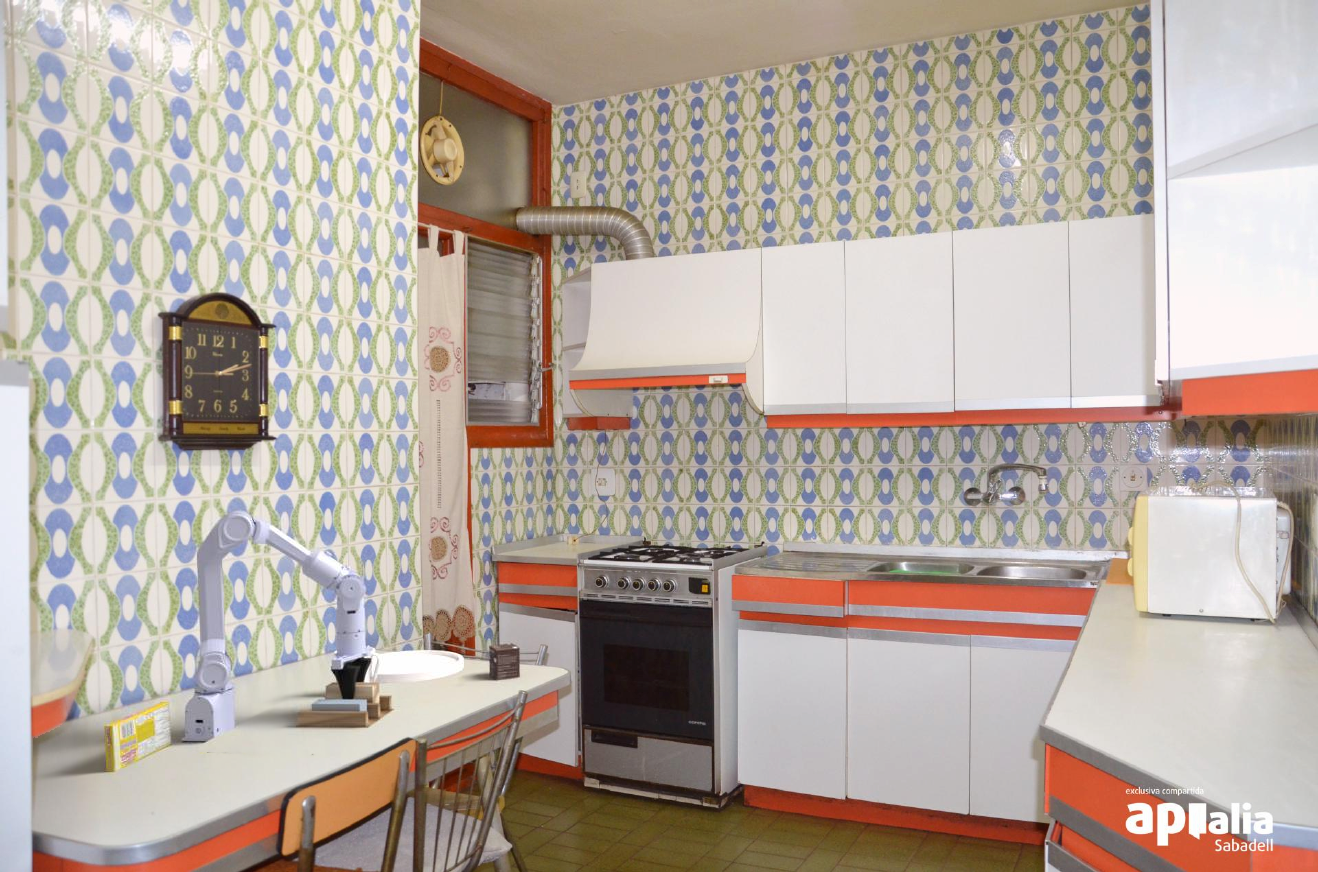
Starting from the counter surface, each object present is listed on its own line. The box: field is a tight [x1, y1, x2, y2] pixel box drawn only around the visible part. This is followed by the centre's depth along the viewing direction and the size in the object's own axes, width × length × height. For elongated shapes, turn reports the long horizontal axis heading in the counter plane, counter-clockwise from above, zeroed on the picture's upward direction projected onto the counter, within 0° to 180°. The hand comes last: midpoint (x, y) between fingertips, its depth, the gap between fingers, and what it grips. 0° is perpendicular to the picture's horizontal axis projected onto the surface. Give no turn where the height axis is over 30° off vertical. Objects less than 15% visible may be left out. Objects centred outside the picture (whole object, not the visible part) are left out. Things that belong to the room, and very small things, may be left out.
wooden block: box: [325, 681, 380, 703], centre depth 210 cm, size 4×10×6 cm, turn 84°
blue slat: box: [311, 698, 367, 711], centre depth 204 cm, size 4×10×4 cm, turn 84°
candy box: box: [103, 701, 172, 773], centre depth 186 cm, size 16×2×8 cm, turn 172°
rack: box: [294, 695, 395, 729], centre depth 207 cm, size 14×15×4 cm
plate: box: [374, 649, 465, 684], centre depth 255 cm, size 28×28×2 cm
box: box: [488, 642, 521, 681], centre depth 245 cm, size 6×6×7 cm
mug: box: [333, 646, 381, 682], centre depth 228 cm, size 11×9×10 cm
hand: (352, 696), depth 210 cm, fingers closed on wooden block, 3 cm apart
